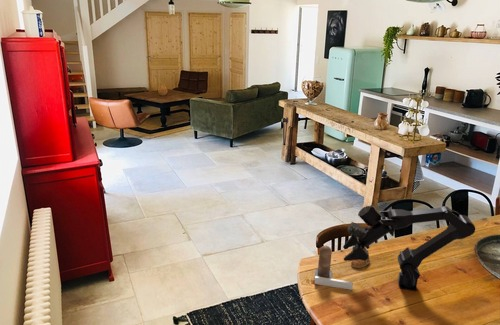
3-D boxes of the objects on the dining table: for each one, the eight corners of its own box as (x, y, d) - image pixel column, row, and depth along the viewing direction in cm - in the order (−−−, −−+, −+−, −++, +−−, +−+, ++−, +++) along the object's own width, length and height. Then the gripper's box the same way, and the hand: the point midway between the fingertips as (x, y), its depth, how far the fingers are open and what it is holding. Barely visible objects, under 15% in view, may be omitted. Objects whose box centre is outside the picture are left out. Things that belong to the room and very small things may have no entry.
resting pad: (332, 271, 173) (332, 270, 173) (331, 281, 166) (331, 280, 166) (315, 269, 174) (315, 268, 174) (314, 278, 168) (314, 277, 168)
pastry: (360, 271, 173) (361, 264, 172) (346, 265, 178) (347, 257, 177) (371, 262, 180) (372, 255, 179) (357, 257, 184) (358, 249, 183)
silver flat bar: (352, 288, 162) (353, 282, 161) (352, 289, 161) (352, 283, 160) (314, 282, 166) (315, 276, 165) (314, 283, 165) (315, 277, 164)
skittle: (331, 273, 171) (334, 246, 166) (325, 279, 167) (328, 251, 162) (321, 269, 173) (323, 242, 169) (315, 274, 170) (317, 246, 165)
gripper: (359, 208, 167) (330, 229, 173) (363, 230, 150) (330, 252, 156) (377, 227, 169) (347, 247, 174) (382, 250, 151) (349, 272, 157)
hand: (343, 253), depth 165 cm, fingers open, 9 cm apart
